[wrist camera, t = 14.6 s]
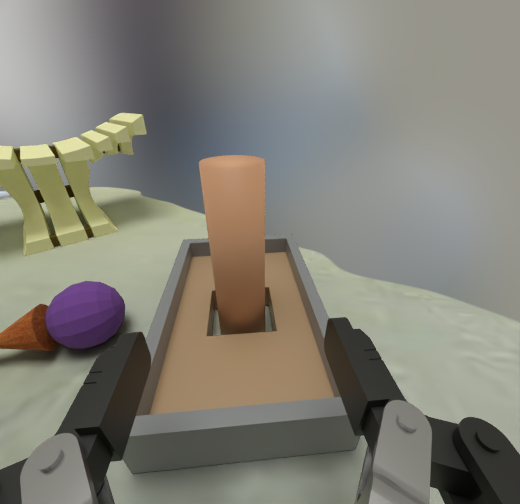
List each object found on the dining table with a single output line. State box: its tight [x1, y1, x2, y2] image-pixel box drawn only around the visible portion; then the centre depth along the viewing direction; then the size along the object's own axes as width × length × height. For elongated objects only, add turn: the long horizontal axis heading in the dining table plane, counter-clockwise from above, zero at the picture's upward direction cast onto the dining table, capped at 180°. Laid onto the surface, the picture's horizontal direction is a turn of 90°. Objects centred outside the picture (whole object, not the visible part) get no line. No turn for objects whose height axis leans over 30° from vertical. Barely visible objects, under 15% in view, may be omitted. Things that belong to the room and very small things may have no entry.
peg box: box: [122, 234, 360, 474], centre depth 24 cm, size 14×22×4 cm, turn 5°
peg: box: [199, 155, 265, 335], centre depth 21 cm, size 4×4×16 cm
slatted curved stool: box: [0, 113, 147, 256], centre depth 42 cm, size 30×16×18 cm, turn 129°
